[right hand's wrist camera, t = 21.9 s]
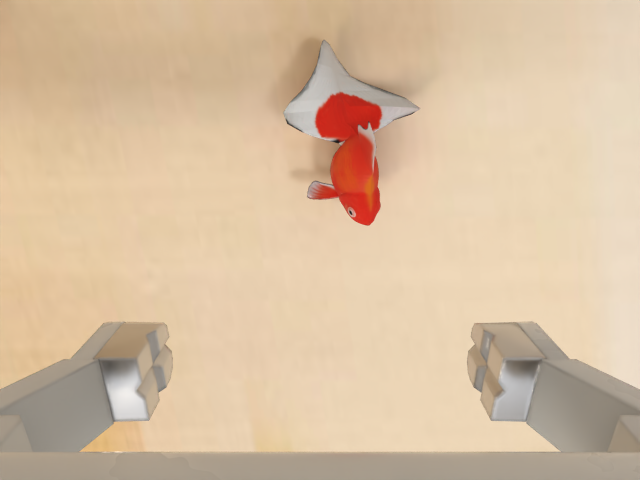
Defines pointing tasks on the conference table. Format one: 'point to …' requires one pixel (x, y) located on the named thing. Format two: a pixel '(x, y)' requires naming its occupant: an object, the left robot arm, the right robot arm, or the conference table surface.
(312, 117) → the fish
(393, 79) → the conference table surface
